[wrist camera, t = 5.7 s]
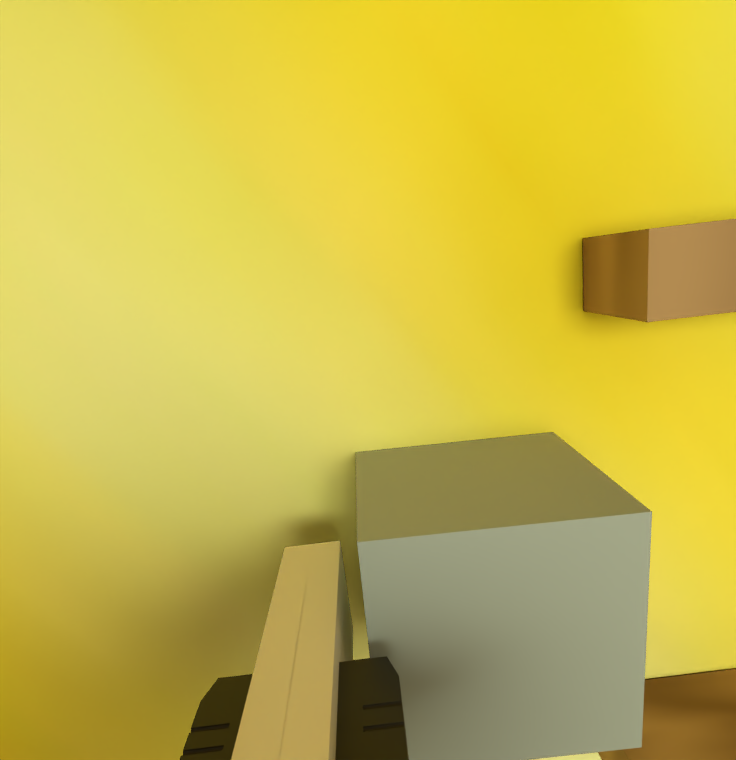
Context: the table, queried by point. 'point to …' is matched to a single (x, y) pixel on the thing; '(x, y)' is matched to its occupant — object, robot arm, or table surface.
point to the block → (505, 596)
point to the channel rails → (654, 303)
